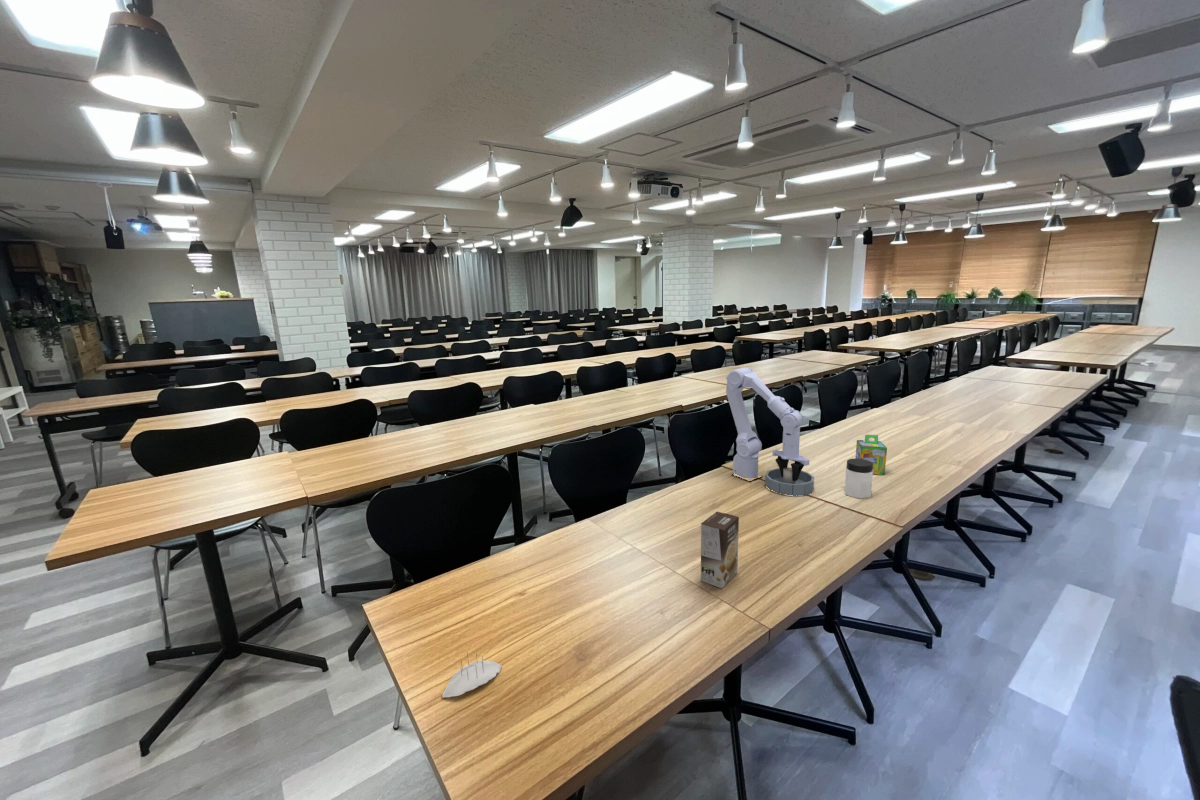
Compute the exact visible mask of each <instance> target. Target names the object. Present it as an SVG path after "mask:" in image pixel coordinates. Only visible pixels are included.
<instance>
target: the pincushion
mask: <svg viewBox="0 0 1200 800" xmlns="http://www.w3.org/2000/svg"><path fill="white" fill-rule="evenodd" d="M466 654H467V657H469V656H468V652H466ZM475 654H476V655H475V656H476V658H478V655H477V653H475ZM481 659H482V660H476V661H474V662H471V663H469V661H467V662H468V663H467V665H465V666H463V664H462V661H460V664H461V666H462V667H461V668H460V669H459V670H458V671H457V672H455V674H454V675H453V676H452V677H451V678H450V680H449V681H448V683H447V685H446V686H445V688H444V691H443V693H442V695H441V697H442V698H443V699H444V698H452V697H460V696H461V695H463V694H465V693H466V692H470V691H473V690H474V689H476V688H479V686H483V685H484V684H487V683H488V682H489V680H490V681H491V680H492V679H493V678H495V677H496V676H497V674H498V673H500V672H501V670H502V668H503V667H502V665H501V664H500V663H499V662H496V661H492V660H484V659H483V655H482V656H481Z"/></svg>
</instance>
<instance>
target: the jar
mask: <svg viewBox="0 0 1200 800" xmlns="http://www.w3.org/2000/svg"><path fill="white" fill-rule="evenodd" d="M845 467H846V468H845V477H844V478H845V479H844V480H845V481H844V492H845V495H846V496H849V497H852V498H855V499H868V498H871V497H872V490H873V489H872V487H873V478H874V477H873V475H874V474H873V472H872V470H873V463H872V462H870V461H868V460H864V459H855V458H849V459H847V460H846V466H845Z"/></svg>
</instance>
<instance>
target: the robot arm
mask: <svg viewBox="0 0 1200 800" xmlns="http://www.w3.org/2000/svg"><path fill="white" fill-rule="evenodd" d="M725 379H726V388H725V393H726V397H727V400H728V403H729V404H728V405H729V406H730V410H731V414H732V417H733V421H734V425H735V427H736V428H735V429H736V431H737V435H736V436H737V437H736V439H735V442H736V449H735V450H736V454H735V455H734V456H733V461H732V474H733V473H735V474H737V475H739V476H741V477H743V478H750V479H751V478H756V477H758V475H759V453H760V451H761V450H762V446H763V444H762V441H761V440H760V439H759V438H758V435H757V433H756V432H755V431H753V429H752V425H751V423H750V420H749V416H748V412H747V408H746V406H745V402H744V398H743V395H742V392H743V390H744V389H745V388H751V389H752V390H754V391H755V392H756V393H757V394H758V395H759V396H760V397H761V398H763V400H764V401H766V403H767V408H769V410H770V411H771V412H772V413H773V414H774V415H775V416H776V417H777V418H779V420H780V424H781V426H782V427H783V428H782V429H783V431H782V450H778V449H773V450H772V456H773V457H777V458H775V462H776V464H777V466H778V468H779V469H780V472H781V477H783V469H784V468H787V467H788V466H789V462H790V461H791V463H790V466H791V467H790V468H792V479H793V481H797V480H798V477H799V474H800V472H801V470H802V471H803V469H804V467H805V466H809V465H810V459H808V458H806V457H804V456H802V455H800V441H801V440H800V439H801V437H800V436H801V435H800V434H801V424H803V421H804V417H803V414H802V413H801V412H800V411H799V410H796V409H795V408H793V407H791V406H790V405H789V404H788V403H787V402H786V401H785V398H784V397H781V396H778V395H775V394H774V393H773V392H772V391H771V390H770V389H769V388H768V386H766V384H765V383H764V382H763V381H762V380H761V379H760V378H759V375H758V373H756V371H754V370H753V369H752V368H751V367H749V366H743V367H740V368H736V369H735V368H734V369H732V370H730V371H729V373H727V375H726V377H725Z"/></svg>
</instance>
